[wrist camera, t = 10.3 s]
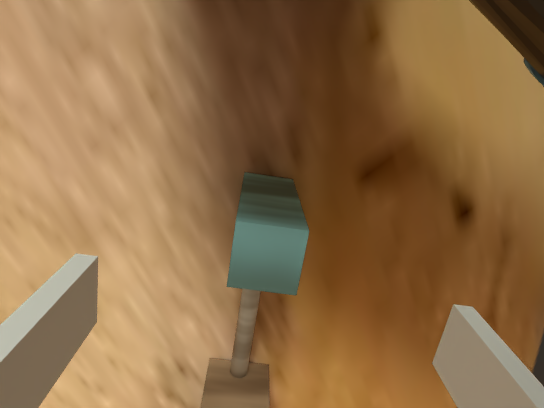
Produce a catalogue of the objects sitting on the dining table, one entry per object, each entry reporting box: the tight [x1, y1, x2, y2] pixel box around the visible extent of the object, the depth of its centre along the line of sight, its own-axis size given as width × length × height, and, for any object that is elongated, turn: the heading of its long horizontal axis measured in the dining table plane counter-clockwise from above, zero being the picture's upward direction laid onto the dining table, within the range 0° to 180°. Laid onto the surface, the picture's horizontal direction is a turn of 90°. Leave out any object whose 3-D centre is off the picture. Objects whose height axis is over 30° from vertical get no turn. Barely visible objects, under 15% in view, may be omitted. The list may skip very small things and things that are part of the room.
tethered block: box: [201, 172, 309, 408], centre depth 26 cm, size 22×5×10 cm, turn 171°
